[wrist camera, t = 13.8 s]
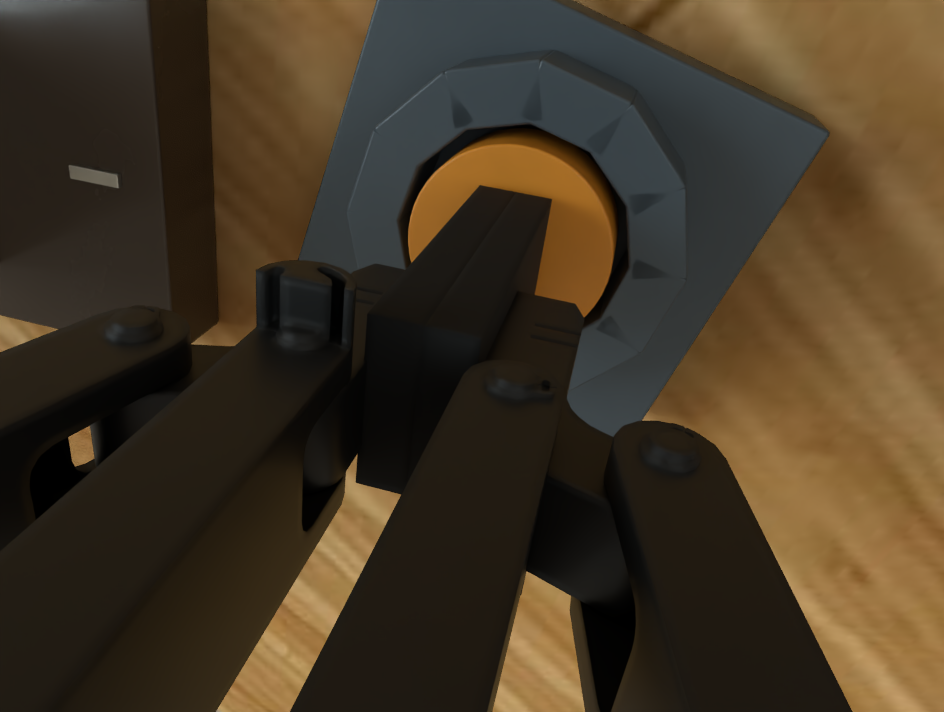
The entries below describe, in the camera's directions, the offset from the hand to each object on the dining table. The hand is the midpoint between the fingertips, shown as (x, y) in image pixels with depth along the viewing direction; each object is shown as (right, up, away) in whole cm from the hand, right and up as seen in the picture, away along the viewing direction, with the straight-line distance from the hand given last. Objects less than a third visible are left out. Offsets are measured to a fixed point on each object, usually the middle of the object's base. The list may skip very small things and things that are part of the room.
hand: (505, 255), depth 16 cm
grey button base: (+1, +2, +4) cm, 5 cm away
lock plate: (-14, +5, +7) cm, 16 cm away
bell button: (0, +1, +2) cm, 2 cm away
